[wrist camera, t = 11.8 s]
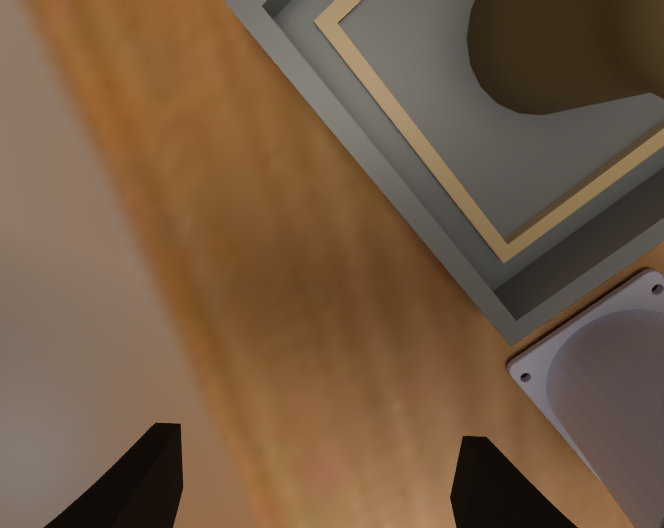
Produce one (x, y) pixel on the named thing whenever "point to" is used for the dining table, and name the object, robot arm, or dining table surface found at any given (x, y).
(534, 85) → the cork
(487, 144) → the walled box
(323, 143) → the dining table surface
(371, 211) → the dining table surface
